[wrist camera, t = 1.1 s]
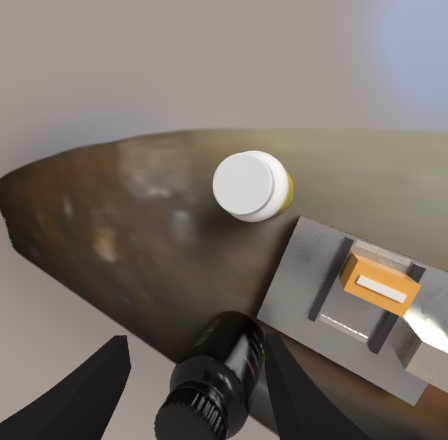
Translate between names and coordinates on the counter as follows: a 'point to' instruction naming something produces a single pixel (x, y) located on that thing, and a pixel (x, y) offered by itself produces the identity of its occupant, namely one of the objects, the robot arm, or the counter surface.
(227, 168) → the supplement bottle
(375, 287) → the orange cuboid
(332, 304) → the strip
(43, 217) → the counter surface
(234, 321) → the supplement bottle
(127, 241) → the counter surface
